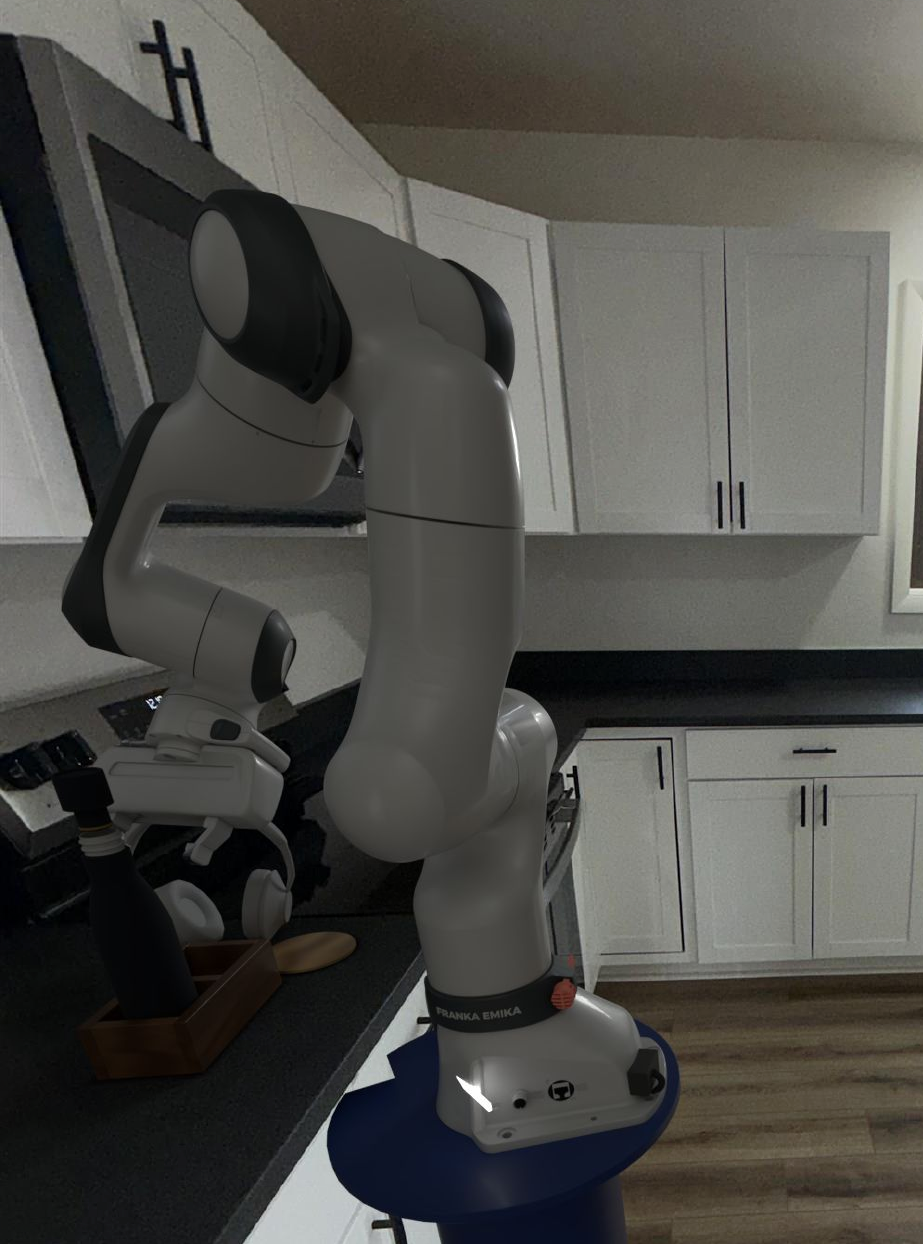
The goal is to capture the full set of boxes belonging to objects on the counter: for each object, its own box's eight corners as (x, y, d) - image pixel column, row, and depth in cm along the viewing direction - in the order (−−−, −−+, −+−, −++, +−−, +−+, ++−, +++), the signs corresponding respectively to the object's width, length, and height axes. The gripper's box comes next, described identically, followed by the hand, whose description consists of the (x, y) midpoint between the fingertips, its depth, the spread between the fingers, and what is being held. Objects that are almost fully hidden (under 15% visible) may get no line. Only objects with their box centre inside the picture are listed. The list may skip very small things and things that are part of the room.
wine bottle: (138, 1073, 86) (26, 786, 74) (141, 1044, 91) (35, 769, 79) (213, 1053, 89) (117, 774, 77) (212, 1025, 94) (121, 759, 82)
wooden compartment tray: (282, 982, 103) (269, 938, 101) (203, 1073, 86) (185, 1022, 84) (195, 987, 102) (180, 942, 99) (97, 1080, 85) (76, 1029, 83)
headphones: (137, 970, 106) (81, 816, 98) (163, 939, 114) (112, 794, 106) (305, 949, 111) (265, 801, 103) (318, 920, 119) (282, 781, 111)
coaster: (368, 932, 116) (367, 929, 115) (337, 971, 106) (337, 968, 105) (282, 936, 114) (281, 934, 114) (243, 976, 104) (242, 973, 104)
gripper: (87, 722, 89) (33, 842, 84) (264, 728, 86) (218, 852, 82) (137, 753, 95) (89, 867, 90) (305, 760, 92) (264, 878, 88)
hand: (152, 860), depth 86 cm, fingers open, 8 cm apart
